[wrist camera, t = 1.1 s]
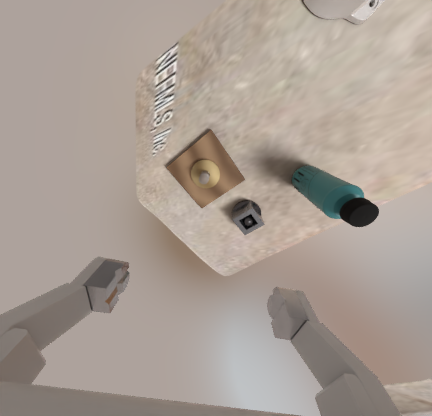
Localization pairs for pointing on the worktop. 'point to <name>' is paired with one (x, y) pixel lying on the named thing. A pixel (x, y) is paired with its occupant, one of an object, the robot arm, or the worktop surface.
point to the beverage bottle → (335, 196)
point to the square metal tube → (243, 212)
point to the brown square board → (206, 170)
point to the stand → (248, 218)
